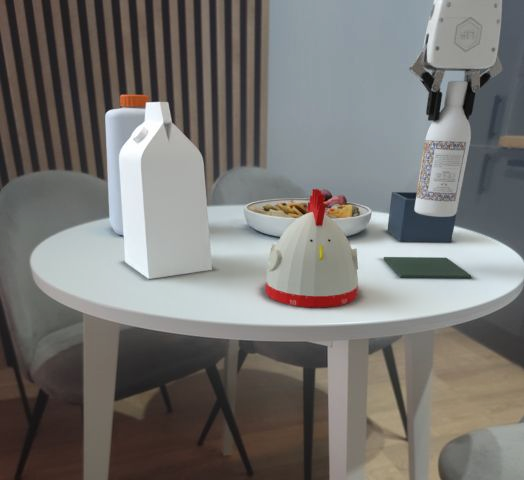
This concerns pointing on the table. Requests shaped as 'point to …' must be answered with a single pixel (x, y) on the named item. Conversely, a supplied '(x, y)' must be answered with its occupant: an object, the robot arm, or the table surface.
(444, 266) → the mat
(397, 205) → the dark blue open box
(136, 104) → the plastic bottle
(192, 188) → the milk
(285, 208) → the bowl
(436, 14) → the robot arm
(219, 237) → the table surface
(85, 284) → the table surface
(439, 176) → the bath foam
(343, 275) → the kitchen timer
